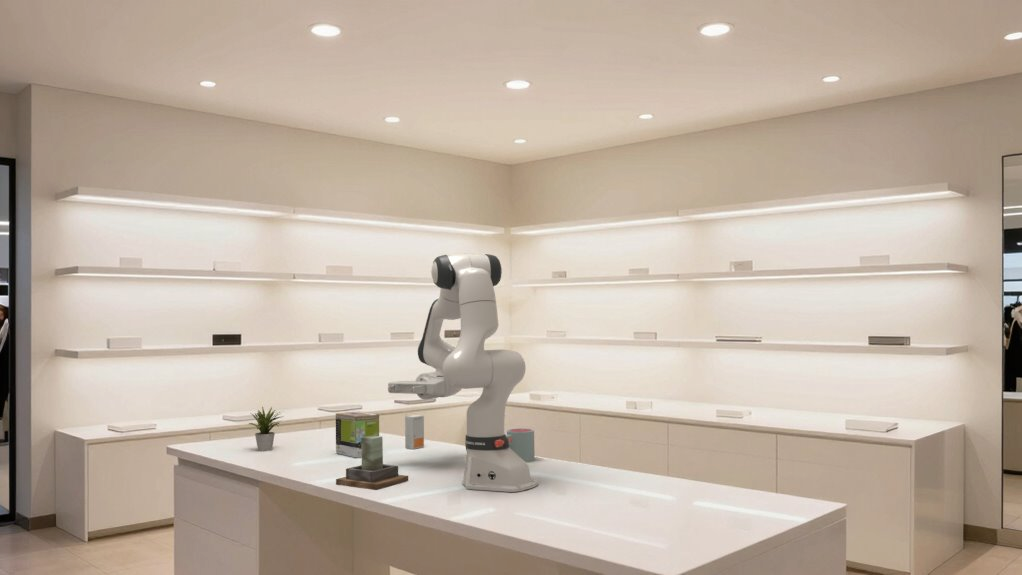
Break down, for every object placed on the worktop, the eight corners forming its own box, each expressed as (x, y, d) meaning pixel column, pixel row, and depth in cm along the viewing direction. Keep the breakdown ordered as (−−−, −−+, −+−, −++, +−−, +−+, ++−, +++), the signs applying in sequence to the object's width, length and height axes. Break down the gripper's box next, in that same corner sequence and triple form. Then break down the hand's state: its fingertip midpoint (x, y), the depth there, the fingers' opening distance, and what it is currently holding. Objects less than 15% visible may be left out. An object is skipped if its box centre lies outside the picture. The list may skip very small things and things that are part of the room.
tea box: (380, 455, 297) (380, 413, 298) (355, 458, 291) (355, 416, 291) (359, 450, 309) (358, 410, 309) (334, 453, 302) (334, 412, 303)
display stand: (408, 480, 251) (408, 465, 251) (376, 489, 239) (376, 473, 239) (368, 475, 260) (368, 461, 260) (336, 484, 248) (335, 468, 248)
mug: (520, 456, 289) (520, 427, 289) (540, 459, 282) (539, 430, 283) (491, 462, 279) (491, 432, 280) (511, 465, 273) (510, 434, 273)
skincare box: (413, 449, 308) (412, 417, 308) (405, 448, 310) (404, 416, 310) (424, 447, 312) (424, 415, 313) (416, 446, 315) (415, 414, 315)
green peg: (382, 476, 250) (382, 436, 250) (372, 479, 246) (372, 438, 247) (371, 475, 252) (371, 435, 253) (361, 478, 249) (361, 437, 249)
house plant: (278, 453, 304) (278, 408, 305) (240, 454, 305) (240, 409, 305) (289, 447, 319) (288, 404, 319) (253, 447, 319) (252, 404, 319)
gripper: (403, 376, 285) (376, 379, 273) (451, 376, 274) (425, 379, 262) (404, 395, 285) (376, 398, 273) (452, 396, 274) (425, 399, 262)
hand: (400, 389), depth 268 cm, fingers open, 8 cm apart
